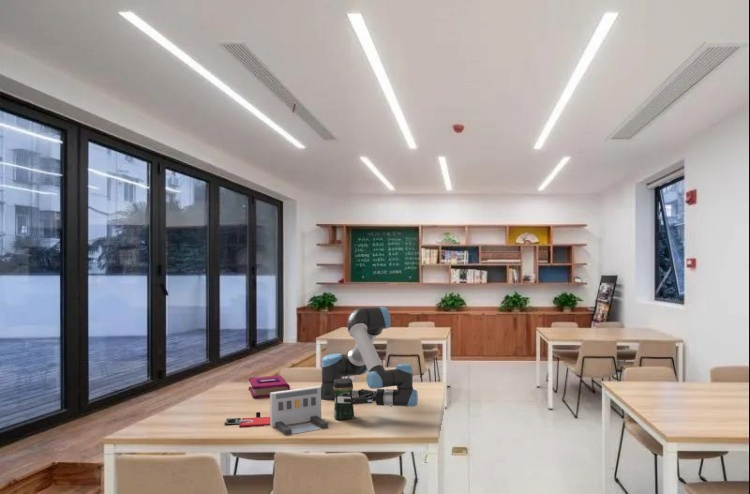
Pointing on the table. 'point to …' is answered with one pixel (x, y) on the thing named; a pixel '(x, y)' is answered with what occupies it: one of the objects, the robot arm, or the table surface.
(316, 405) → the breaker panel
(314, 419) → the cord cover
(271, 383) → the book
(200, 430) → the table surface
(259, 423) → the red board with handle
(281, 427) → the cord cover
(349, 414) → the coffee jar
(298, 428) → the pad
